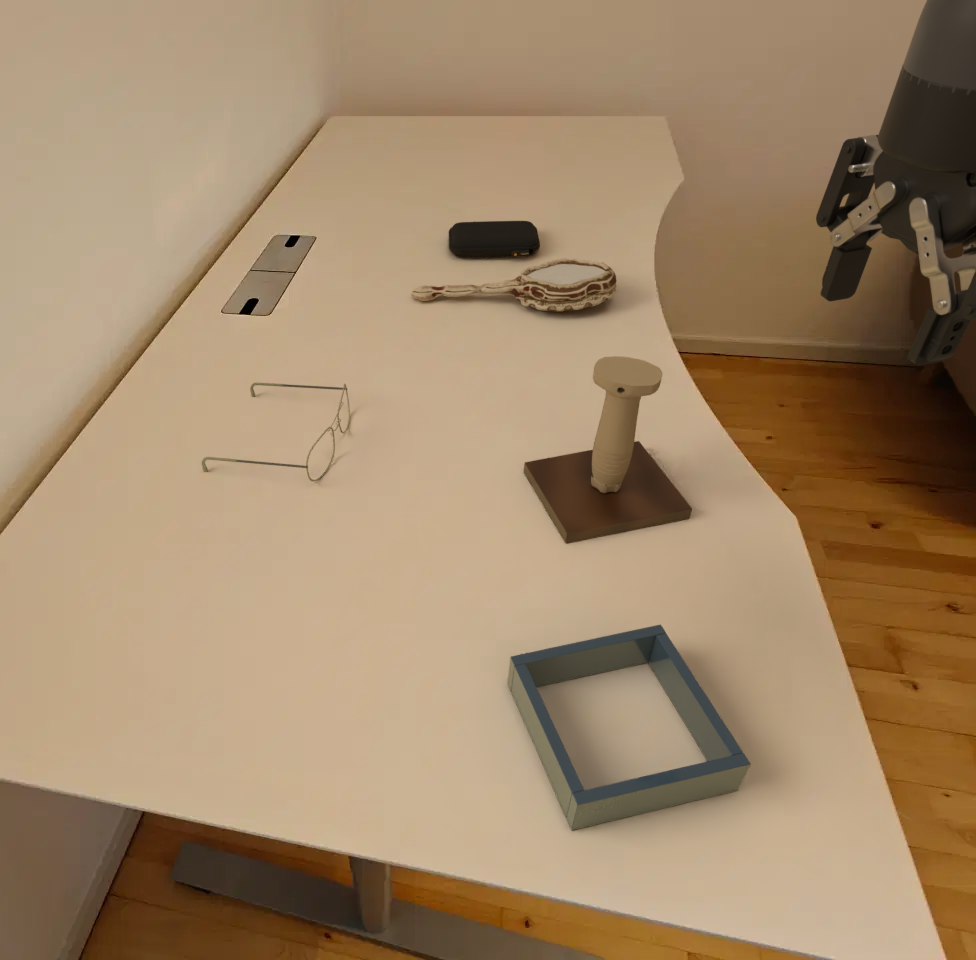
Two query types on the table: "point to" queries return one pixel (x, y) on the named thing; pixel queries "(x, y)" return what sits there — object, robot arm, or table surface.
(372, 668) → the table surface
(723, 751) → the blue square frame
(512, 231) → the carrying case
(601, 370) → the handle
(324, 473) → the eyeglasses
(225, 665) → the table surface
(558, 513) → the board
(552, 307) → the hand mirror
